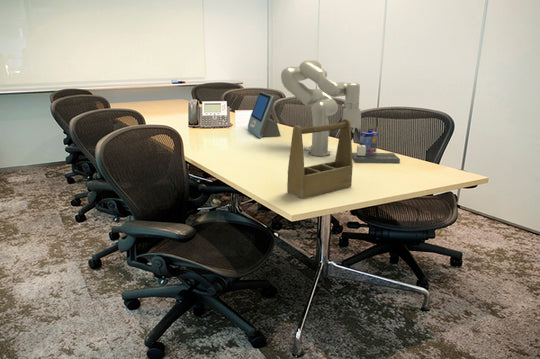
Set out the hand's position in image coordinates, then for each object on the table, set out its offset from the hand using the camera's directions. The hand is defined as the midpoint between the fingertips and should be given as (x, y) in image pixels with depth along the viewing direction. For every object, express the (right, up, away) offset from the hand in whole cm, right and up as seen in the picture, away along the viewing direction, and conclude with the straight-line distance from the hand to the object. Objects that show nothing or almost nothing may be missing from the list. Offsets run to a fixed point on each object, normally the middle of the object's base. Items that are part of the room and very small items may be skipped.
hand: (350, 139), depth 230 cm
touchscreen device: (-50, +11, +77) cm, 92 cm away
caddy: (-23, -27, -47) cm, 59 cm away
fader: (+6, -8, +3) cm, 11 cm away
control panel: (+14, -11, +4) cm, 19 cm away
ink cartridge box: (+15, -6, +23) cm, 28 cm away
